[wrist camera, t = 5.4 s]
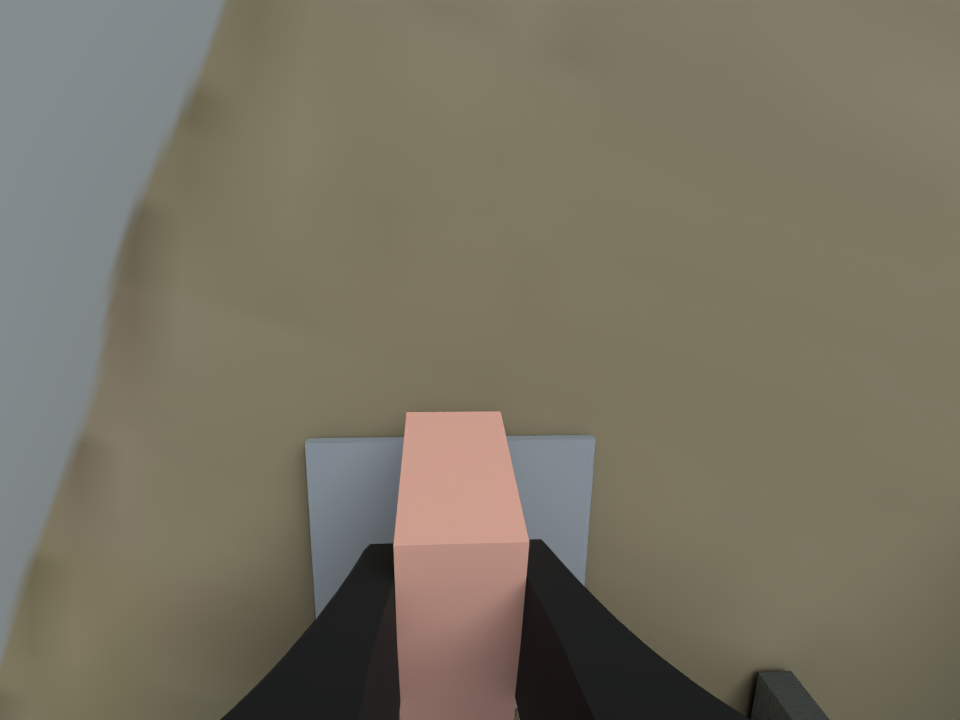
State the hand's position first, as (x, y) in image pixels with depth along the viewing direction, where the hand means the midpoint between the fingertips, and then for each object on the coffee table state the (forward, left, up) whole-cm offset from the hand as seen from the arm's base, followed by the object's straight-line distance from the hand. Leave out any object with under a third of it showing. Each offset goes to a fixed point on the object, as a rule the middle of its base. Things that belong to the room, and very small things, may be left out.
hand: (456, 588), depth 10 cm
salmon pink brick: (0, +1, -3) cm, 3 cm away
